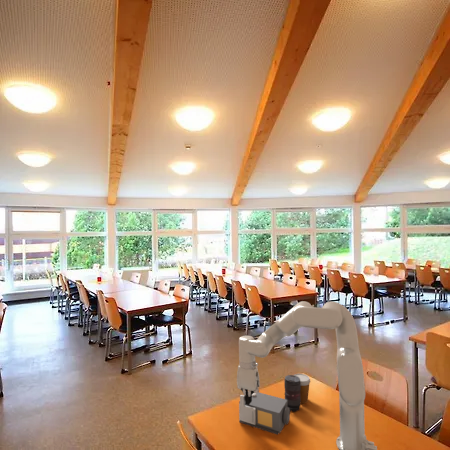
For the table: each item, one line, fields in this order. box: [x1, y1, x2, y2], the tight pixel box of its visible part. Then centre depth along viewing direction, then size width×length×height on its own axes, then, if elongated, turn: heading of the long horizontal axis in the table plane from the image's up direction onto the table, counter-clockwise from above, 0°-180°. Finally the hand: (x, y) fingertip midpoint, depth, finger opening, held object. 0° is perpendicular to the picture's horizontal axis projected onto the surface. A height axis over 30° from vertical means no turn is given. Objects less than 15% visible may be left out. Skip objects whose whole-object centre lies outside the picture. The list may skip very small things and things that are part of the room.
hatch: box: [238, 394, 256, 425], centre depth 143 cm, size 8×1×12 cm, turn 61°
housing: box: [238, 391, 291, 436], centre depth 145 cm, size 22×13×10 cm, turn 61°
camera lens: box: [283, 374, 301, 412], centre depth 156 cm, size 8×8×15 cm
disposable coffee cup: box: [293, 373, 311, 404], centre depth 162 cm, size 10×10×12 cm
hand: (248, 403), depth 142 cm, fingers closed
